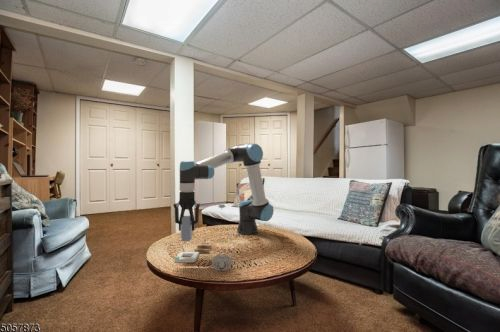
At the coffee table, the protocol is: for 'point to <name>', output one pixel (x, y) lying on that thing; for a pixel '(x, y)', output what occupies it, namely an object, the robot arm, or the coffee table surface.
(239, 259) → the coffee table surface
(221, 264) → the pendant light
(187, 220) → the plug
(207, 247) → the wooden rail base
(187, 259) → the port
